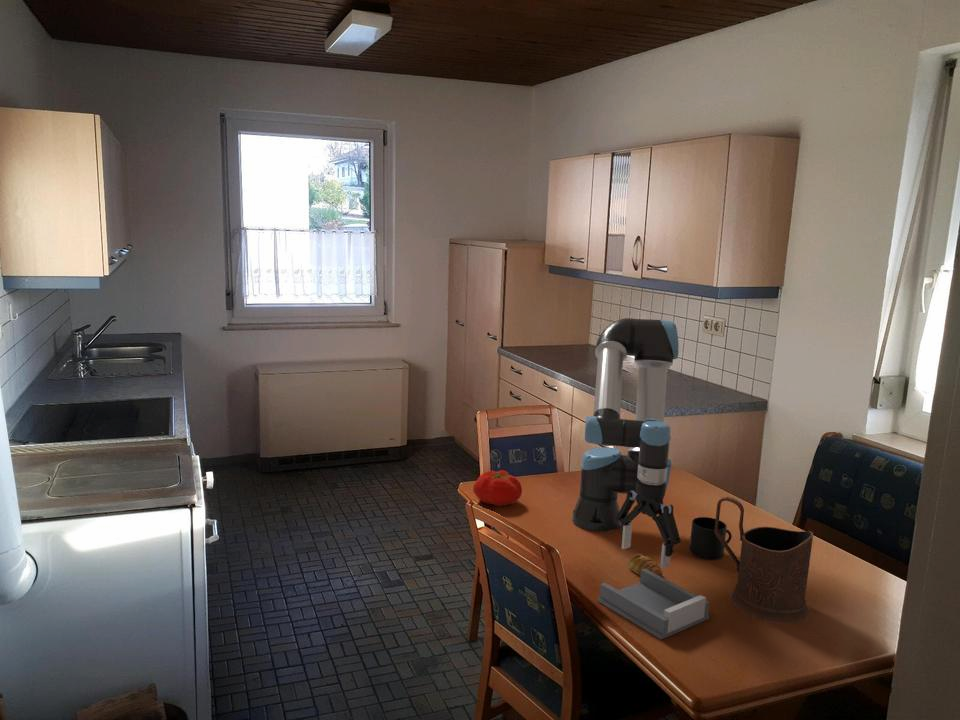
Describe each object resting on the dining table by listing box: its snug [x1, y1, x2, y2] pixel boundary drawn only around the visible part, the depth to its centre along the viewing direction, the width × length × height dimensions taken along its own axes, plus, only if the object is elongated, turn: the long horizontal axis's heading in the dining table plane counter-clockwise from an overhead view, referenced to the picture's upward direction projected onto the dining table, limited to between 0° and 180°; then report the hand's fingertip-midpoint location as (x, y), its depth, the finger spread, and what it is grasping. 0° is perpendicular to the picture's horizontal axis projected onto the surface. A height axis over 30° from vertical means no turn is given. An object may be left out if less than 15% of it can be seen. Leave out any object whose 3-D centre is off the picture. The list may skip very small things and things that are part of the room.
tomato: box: [472, 469, 523, 507], centre depth 243 cm, size 14×16×10 cm
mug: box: [689, 516, 733, 561], centre depth 211 cm, size 9×12×9 cm
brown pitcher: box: [714, 496, 814, 625], centre depth 183 cm, size 18×24×25 cm
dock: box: [597, 569, 710, 640], centre depth 178 cm, size 20×17×6 cm
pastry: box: [627, 553, 663, 577], centre depth 198 cm, size 9×7×4 cm
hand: (644, 557), depth 197 cm, fingers open, 13 cm apart
